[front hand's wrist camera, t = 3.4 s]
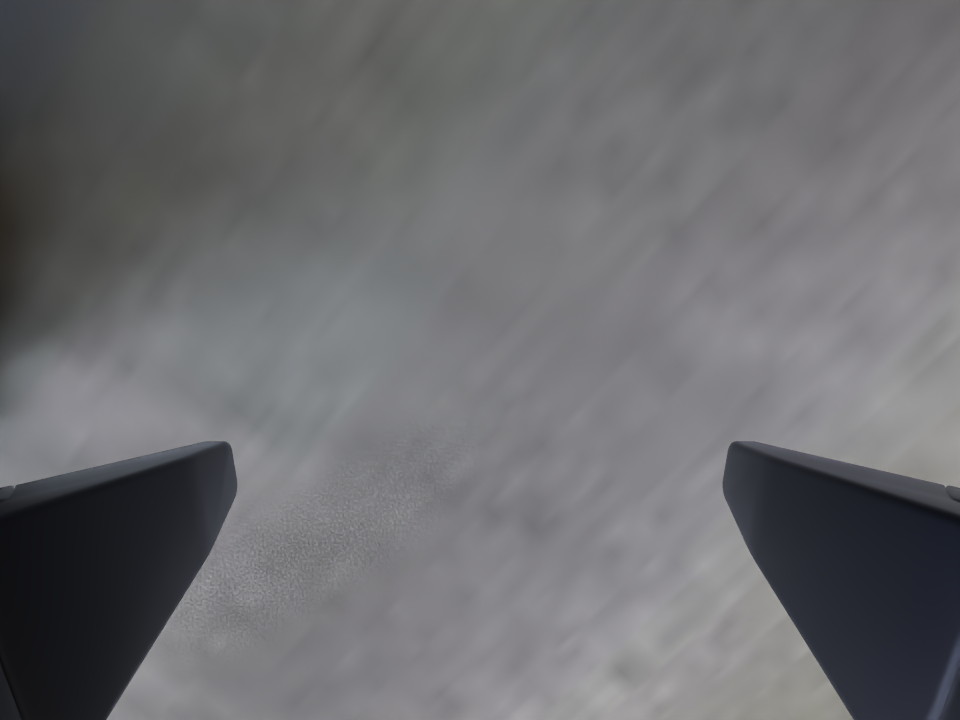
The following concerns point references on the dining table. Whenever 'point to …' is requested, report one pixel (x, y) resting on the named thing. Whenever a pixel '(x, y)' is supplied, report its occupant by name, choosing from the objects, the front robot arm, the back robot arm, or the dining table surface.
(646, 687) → the dining table surface
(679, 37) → the dining table surface
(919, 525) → the front robot arm
